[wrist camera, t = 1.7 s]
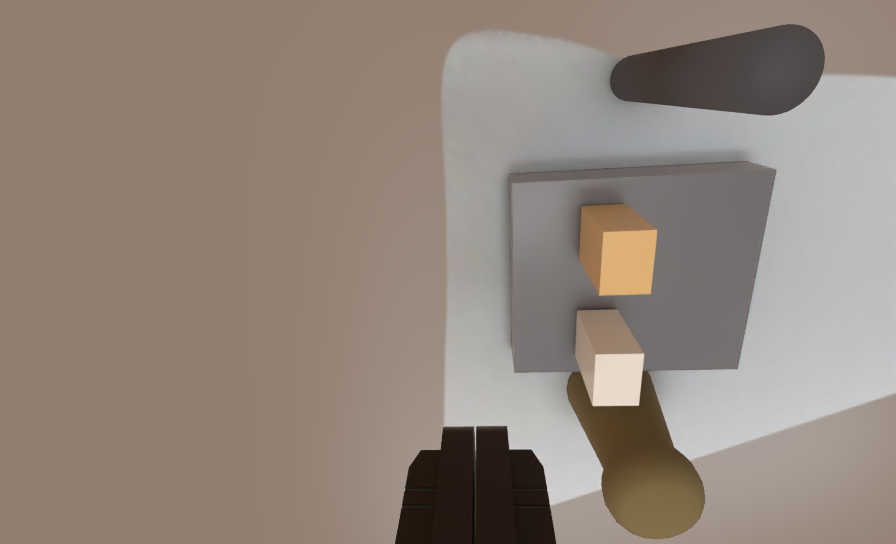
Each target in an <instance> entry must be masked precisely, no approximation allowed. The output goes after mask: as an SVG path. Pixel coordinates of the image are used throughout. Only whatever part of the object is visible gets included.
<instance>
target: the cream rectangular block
mask: <svg viewBox="0 0 896 544" xmlns="http://www.w3.org/2000/svg"><path fill="white" fill-rule="evenodd" d="M575 357H576V360H577V363H578V366H579V369H580V371H581V374H582V377H583V380H584V383H585V386H586V389H587V392H588V394H589V397H590V400H591V403H592V406H639V399H640V390H641V380H642V371H643V362H644V352H643V351H642V349H641V347H640V346H639V344H638V342H637V341H636V339H635V337H634V336H633V334H632V332H631V331H630V329H629V328H628V326H627V324H626V323H625V321H624V319H623V318H622V316H621V314H620V313H619V311H618V309H612V310H577V322H576V345H575Z"/></svg>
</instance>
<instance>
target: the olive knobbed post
mask: <svg viewBox="0 0 896 544" xmlns="http://www.w3.org/2000/svg"><path fill="white" fill-rule="evenodd" d="M567 394H568V399H569V401H570V403H571V405H572V407H573V409H574V411H575V413H576V415H577V417H578V419H579V421H580V423H581V425H582V427H583V429H584V431H585V433H586V435H587V437H588V439H589V441H590V443H591V445H592V447H593V449H594V451H595V453H596V455H597V457H598V459H599V461H600V463H601V465H602V467H603V469H604V470H603V474H602V484H601V485H602V492H603V496H604V501H605V504H606V506H607V508H608V509H609V511H610V512H611V514H612V516H613V517H614V519H615V520H616V522H618V523H619V524H620V525H621V526H623V527H624V528H625V529H627V530H628V531H629V532H631V533H632V534H634V535H637V536H640V537H643V538H650V539H663V538H670V537H673V536H676V535H679V534H682V533H684V532H685V531H687V530H688V529H690V528H692V527H693V526H694V524H695V523H696V522H697V521H698V520H699V519H700V517H701V514H702V511H703V508H704V504H705V494H704V487H703V483H702V480H701V479H700V477H699V475H698V473H697V471H696V470H695V468H694V466H693V465H692V463H691V462H690V461H689V460H688V459H687V458H686V457H685V456H684V455H683V454H681V453H680V452H679V451H678V450H677V449H675V448H674V446H673V443H672V440H671V437H670V434H669V431H668V428H667V425H666V422H665V419H664V416H663V413H662V410H661V407H660V404H659V401H658V398H657V395H656V392H655V389H654V386H653V383H652V380H651V377H650V375H649V373H648V371H642V380H641V390H640V399H639V406H592V403H591V400H590V397H589V394H588V392H587V389H586V386H585V383H584V380H583V377H582V374H581V372H573V373H572V374H571V376H570V377H569V380H568V385H567Z"/></svg>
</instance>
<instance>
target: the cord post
mask: <svg viewBox="0 0 896 544" xmlns="http://www.w3.org/2000/svg"><path fill="white" fill-rule="evenodd" d="M824 60H825V57H824V49H823V46H822V43H821V41H820V40H819V38H818V37H817V35H816V34H815V33H814V32H812V31H811V30H810V29H808V28H805V27H803V26H800V25H794V24H793V25H792V24H791V25H790V24H789V25H788V24H787V25H781V26H776V27H771V28H766V29H761V30H756V31H751V32H746V33H741V34H737V35H732V36H726V37H721V38H717V39H712V40H707V41H701V42H697V43H691V44H687V45H682V46H677V47H672V48H667V49H662V50H657V51H653V52H648V53H642V54H637V55H632V56H628V57H626V58H624V59H622V60H621V61H620V62H619V63H618V64H617V65H616V66H615V68H614V69H613V71H612V74H611V79H610V84H611V89H612V91H613V93H614V94H615V95H616V96H617V97H618V98H619V99H621V100H624V101H632V102H641V103H651V104H661V105H670V106H680V107H689V108H699V109H709V110H718V111H728V112H738V113H747V114H757V115H778V114H782V113H784V112H787V111H789V110H791V109H793V108H795V107H796V106H798V105H799V104H801V103H802V102H803V101H804V100H805V99H806V98H807V97H808V96H809V95H810V94H811V93H812V92H813V90H814V89H815V87H816V86H817V84H818V82H819V80H820V78H821V75H822V72H823V68H824Z"/></svg>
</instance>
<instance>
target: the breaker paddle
mask: <svg viewBox="0 0 896 544" xmlns="http://www.w3.org/2000/svg"><path fill="white" fill-rule="evenodd" d="M656 239H657V229H656V228H655V227H653V226H652V225H651V224H650V223H649V222H647V221H646V220H645V219H644V218H642V217H641V216H640V215H639V214H638V213H636V212H635V211H634V210H633V209H631V208H630V207H629V206H628V205H627V204H611V205H589V206H581V228H580V251H579V260H580V262H581V264H582V266H583V267H584V269H585V271H586V273H587V275H588V276H589V278H590V280H591V282H592V283H593V285H594V287H595V289H596V291H597V292H598V294H599V296H603V295H636V294H651V286H652V277H653V268H654V258H655V249H656Z"/></svg>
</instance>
